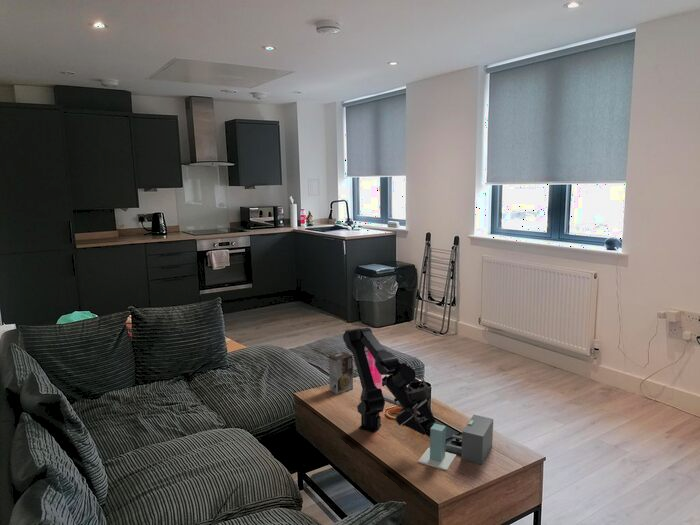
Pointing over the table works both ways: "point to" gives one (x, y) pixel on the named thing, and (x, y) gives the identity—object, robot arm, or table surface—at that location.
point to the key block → (437, 442)
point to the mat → (441, 465)
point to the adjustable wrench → (390, 399)
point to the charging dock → (474, 440)
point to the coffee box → (340, 372)
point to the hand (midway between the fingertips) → (429, 428)
